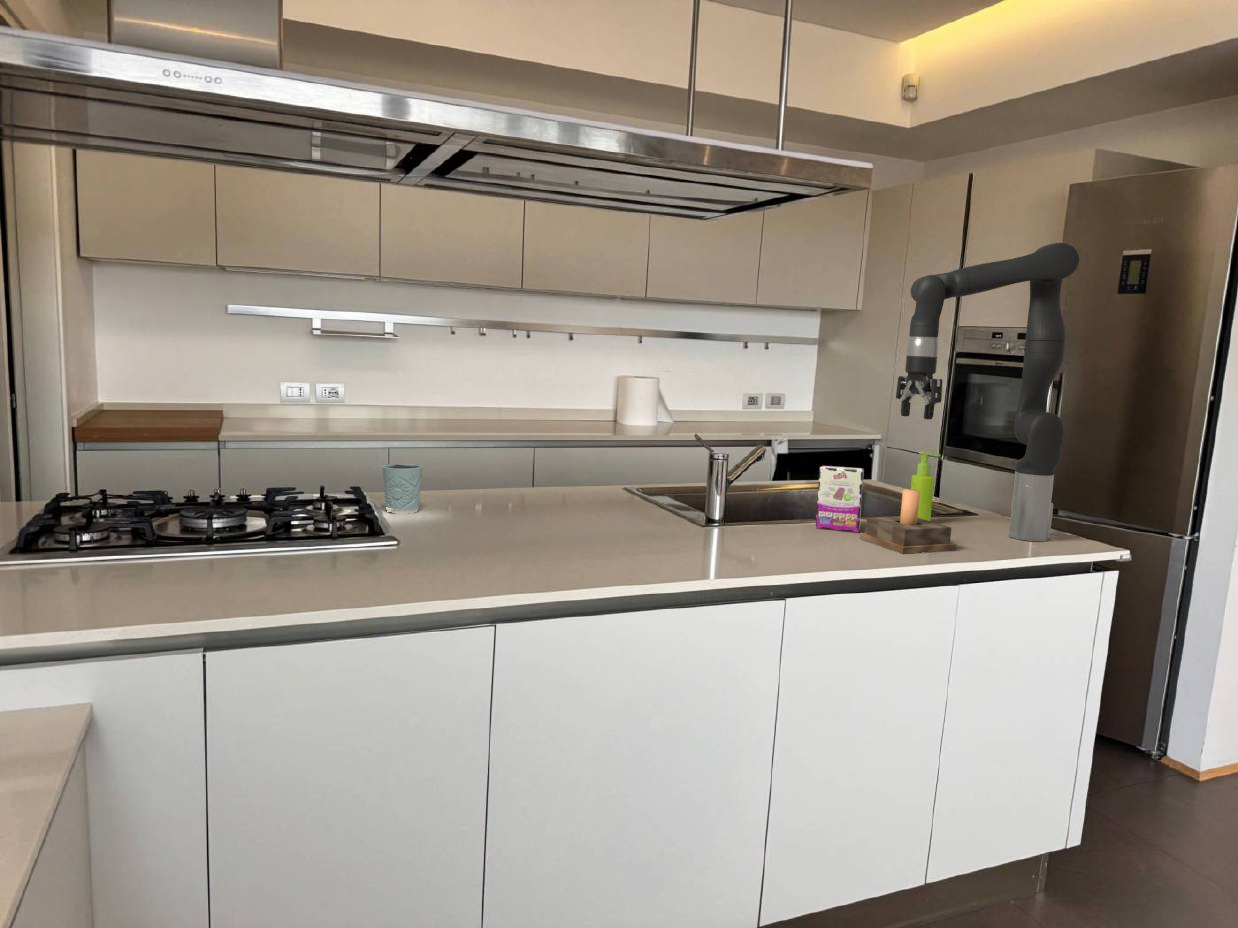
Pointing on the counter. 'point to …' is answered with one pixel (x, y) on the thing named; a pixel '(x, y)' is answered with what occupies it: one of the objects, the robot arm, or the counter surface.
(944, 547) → the socket block
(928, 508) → the soap dispenser
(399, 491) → the teal embossed pot
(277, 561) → the counter surface
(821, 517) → the candy bar box
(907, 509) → the wooden pin
